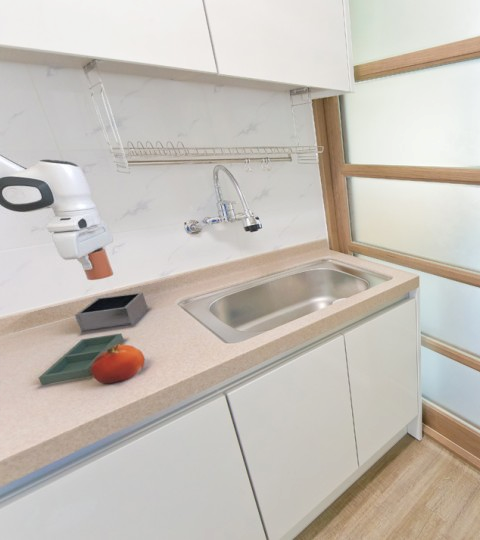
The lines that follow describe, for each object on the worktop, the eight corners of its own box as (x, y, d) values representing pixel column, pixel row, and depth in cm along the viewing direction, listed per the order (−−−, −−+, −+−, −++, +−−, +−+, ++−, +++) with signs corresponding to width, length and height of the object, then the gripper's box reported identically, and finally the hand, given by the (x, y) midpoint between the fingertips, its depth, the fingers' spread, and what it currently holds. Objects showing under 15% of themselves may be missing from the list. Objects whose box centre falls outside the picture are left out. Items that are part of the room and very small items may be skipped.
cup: (82, 281, 96) (72, 254, 93) (94, 274, 101) (84, 249, 99) (107, 278, 98) (98, 252, 95) (117, 272, 103) (108, 247, 100)
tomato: (153, 361, 84) (144, 334, 81) (140, 384, 76) (129, 354, 73) (108, 370, 81) (97, 342, 78) (90, 394, 73) (76, 364, 70)
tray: (42, 386, 76) (38, 377, 75) (85, 347, 91) (81, 339, 90) (91, 378, 78) (87, 369, 77) (124, 341, 94) (121, 333, 93)
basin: (82, 334, 98) (74, 314, 96) (104, 316, 109) (97, 298, 107) (132, 327, 102) (126, 307, 99) (148, 309, 113) (142, 292, 111)
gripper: (86, 214, 102) (101, 256, 107) (41, 227, 84) (62, 278, 88) (110, 212, 104) (124, 254, 109) (72, 225, 86) (90, 274, 90)
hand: (96, 265), depth 98 cm, fingers closed on cup, 6 cm apart
